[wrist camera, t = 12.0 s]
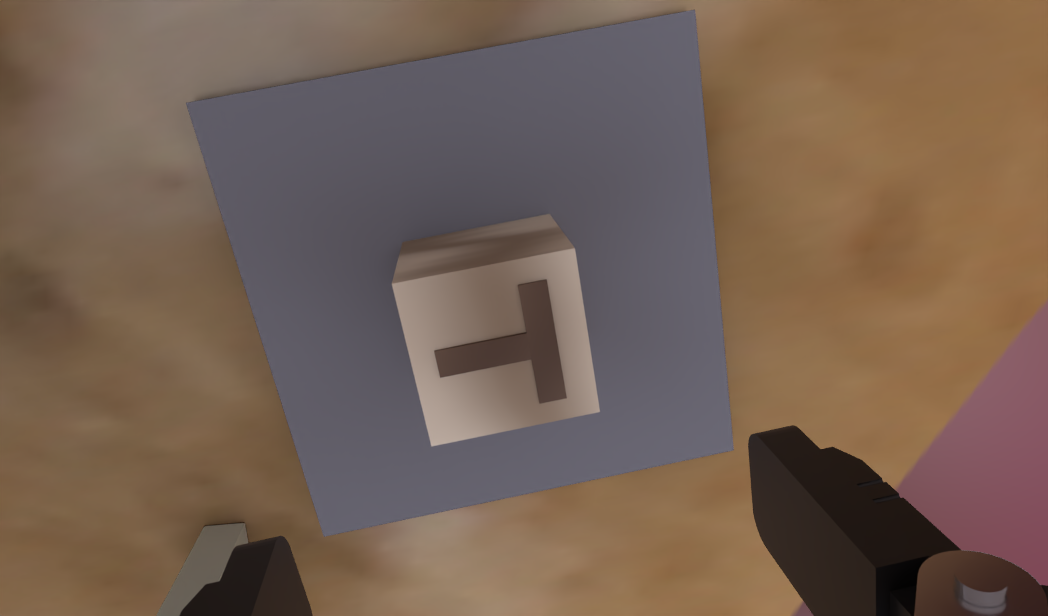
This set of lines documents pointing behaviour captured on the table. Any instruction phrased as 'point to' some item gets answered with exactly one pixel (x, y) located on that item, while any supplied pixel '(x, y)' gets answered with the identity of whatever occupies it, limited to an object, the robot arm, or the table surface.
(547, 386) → the letter cube
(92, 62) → the table surface
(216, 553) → the screen
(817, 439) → the table surface
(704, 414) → the mat
